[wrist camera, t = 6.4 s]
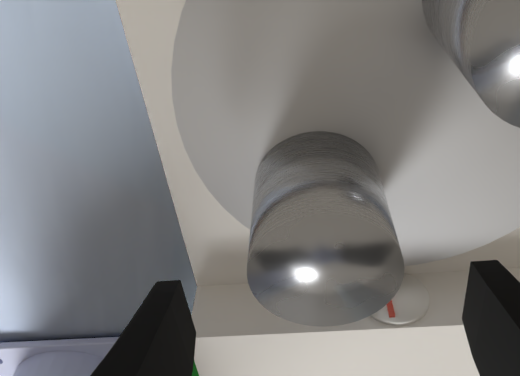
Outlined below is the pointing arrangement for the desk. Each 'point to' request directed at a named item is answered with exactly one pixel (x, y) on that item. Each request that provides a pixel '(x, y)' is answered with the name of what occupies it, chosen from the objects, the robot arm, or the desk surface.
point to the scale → (337, 121)
